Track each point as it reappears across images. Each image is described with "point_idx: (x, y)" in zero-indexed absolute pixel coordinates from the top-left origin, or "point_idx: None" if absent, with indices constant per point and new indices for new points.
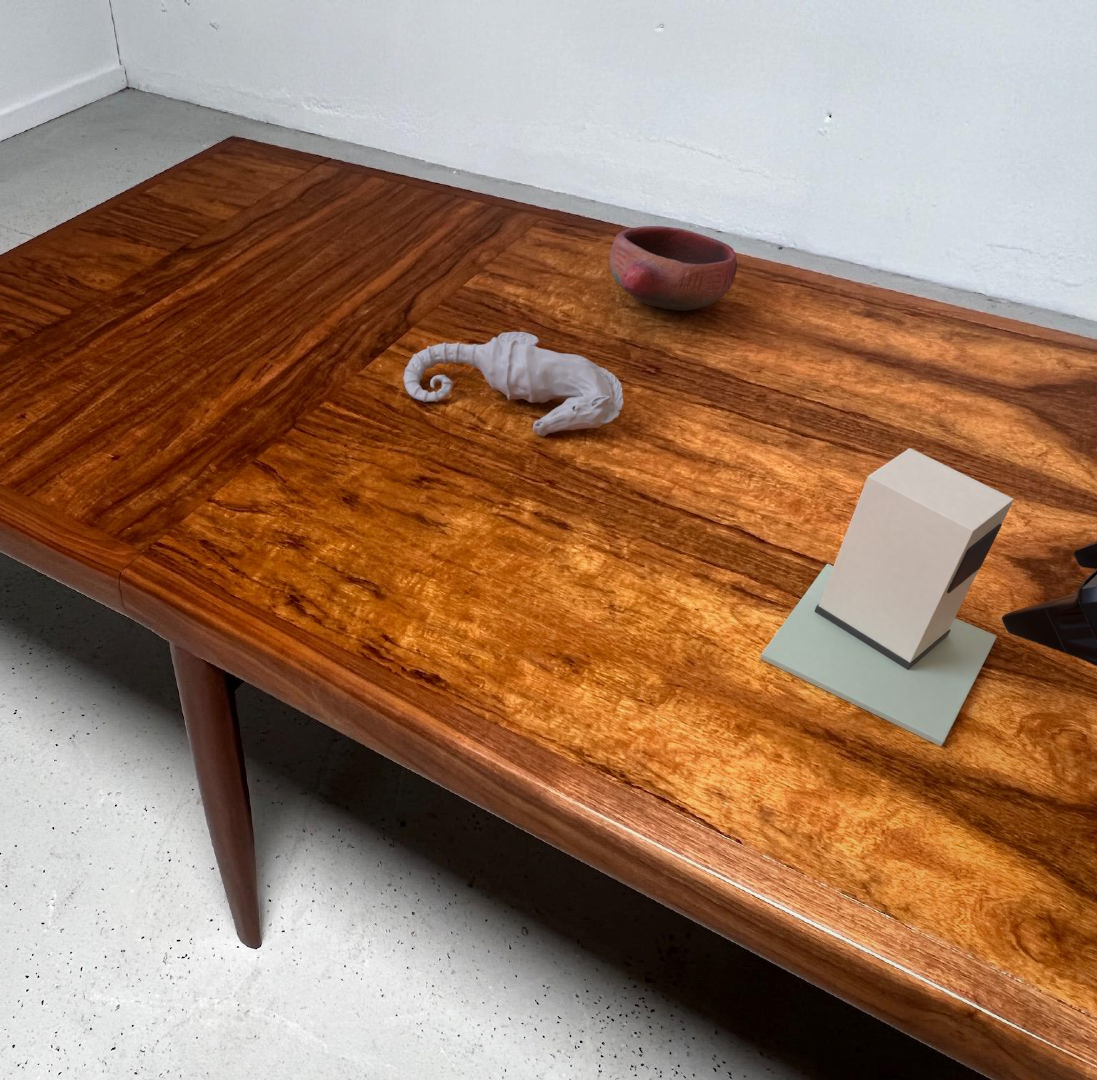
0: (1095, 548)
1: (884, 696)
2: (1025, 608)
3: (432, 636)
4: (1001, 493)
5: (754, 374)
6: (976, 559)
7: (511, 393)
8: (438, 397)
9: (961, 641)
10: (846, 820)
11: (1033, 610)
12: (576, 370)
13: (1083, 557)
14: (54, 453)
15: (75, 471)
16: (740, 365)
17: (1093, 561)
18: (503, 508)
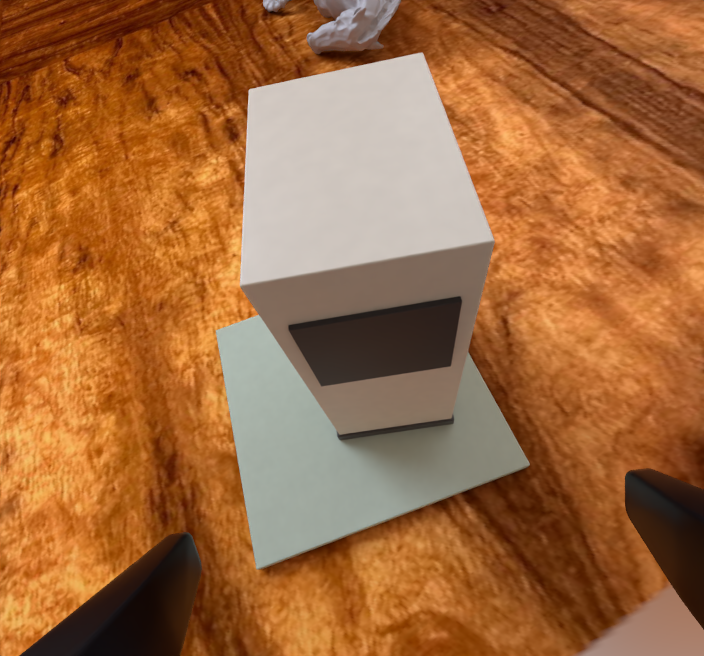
0: (677, 518)
1: (268, 457)
2: (133, 583)
3: (38, 198)
4: (478, 212)
5: (607, 26)
6: (389, 352)
7: (318, 5)
8: (274, 6)
9: (462, 442)
10: (53, 577)
11: (44, 636)
12: None
13: (640, 503)
14: (42, 15)
15: (36, 28)
16: (602, 14)
17: (657, 538)
18: (212, 109)
